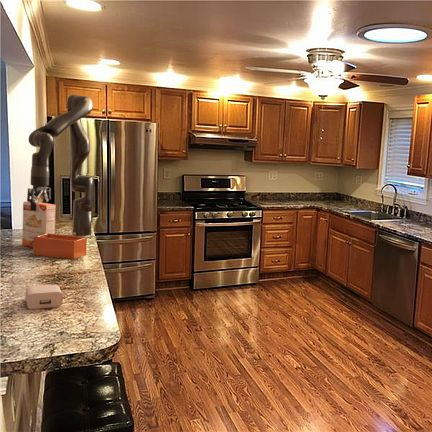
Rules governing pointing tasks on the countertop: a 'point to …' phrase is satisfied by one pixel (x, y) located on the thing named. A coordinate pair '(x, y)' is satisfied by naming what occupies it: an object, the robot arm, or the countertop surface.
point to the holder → (60, 246)
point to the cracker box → (37, 221)
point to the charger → (43, 296)
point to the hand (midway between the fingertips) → (38, 210)
